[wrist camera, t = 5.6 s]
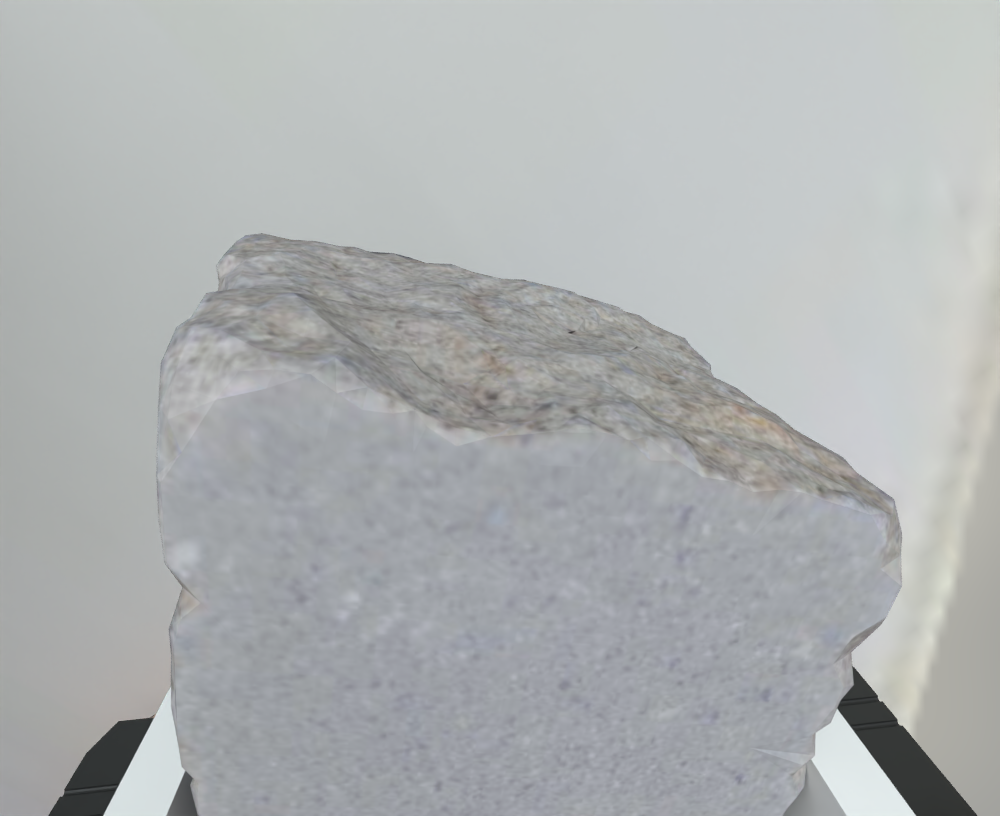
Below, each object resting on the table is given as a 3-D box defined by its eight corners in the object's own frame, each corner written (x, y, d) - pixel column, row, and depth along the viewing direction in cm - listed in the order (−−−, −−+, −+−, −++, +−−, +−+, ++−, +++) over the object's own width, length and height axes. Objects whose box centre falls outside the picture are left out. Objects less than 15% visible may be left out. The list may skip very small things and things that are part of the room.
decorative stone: (625, 123, 10) (80, 279, 10) (948, 53, 4) (-464, 460, 4) (713, 692, 16) (368, 799, 16) (904, 1024, 10) (338, 1211, 10)
